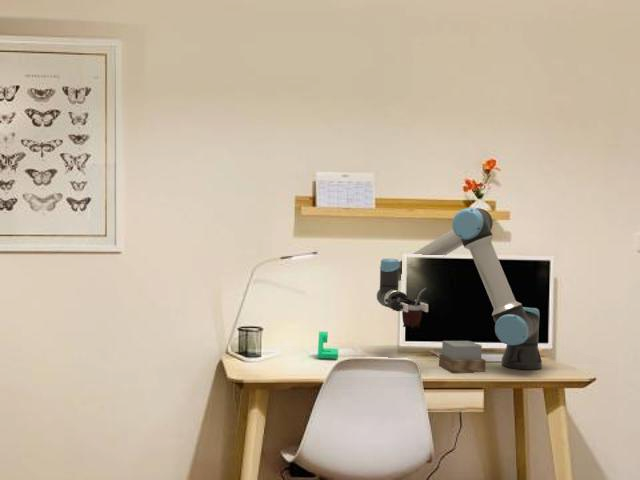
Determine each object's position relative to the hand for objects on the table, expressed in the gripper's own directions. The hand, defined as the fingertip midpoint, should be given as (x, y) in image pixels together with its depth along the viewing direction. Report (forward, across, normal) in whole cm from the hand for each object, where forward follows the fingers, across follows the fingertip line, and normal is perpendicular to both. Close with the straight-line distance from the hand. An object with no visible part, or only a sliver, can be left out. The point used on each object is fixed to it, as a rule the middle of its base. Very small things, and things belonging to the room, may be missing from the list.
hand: (417, 308), depth 281 cm
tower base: (-6, -21, -24) cm, 32 cm away
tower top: (-6, -20, -19) cm, 29 cm away
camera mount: (-31, +25, -24) cm, 47 cm away
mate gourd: (-5, 0, -8) cm, 9 cm away
